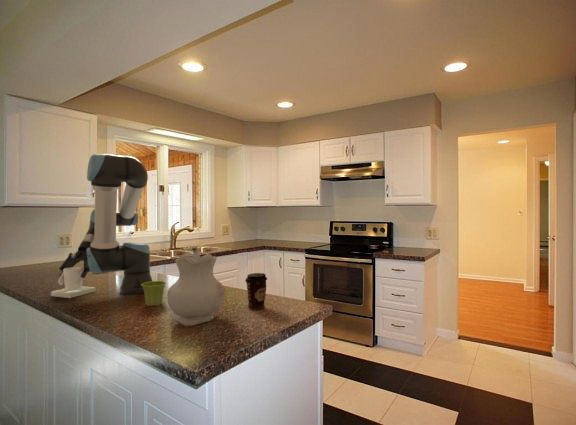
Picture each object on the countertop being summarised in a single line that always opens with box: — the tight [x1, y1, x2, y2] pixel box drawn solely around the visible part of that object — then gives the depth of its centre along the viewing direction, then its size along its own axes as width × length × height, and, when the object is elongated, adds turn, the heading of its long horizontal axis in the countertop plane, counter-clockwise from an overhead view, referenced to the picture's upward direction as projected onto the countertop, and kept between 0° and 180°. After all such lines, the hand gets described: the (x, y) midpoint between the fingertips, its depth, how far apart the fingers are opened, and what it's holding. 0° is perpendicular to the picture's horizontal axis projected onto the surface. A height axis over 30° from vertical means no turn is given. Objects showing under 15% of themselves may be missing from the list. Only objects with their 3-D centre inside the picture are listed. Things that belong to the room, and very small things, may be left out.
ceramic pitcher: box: [166, 246, 226, 327], centre depth 117 cm, size 22×20×25 cm
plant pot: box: [141, 280, 167, 307], centre depth 136 cm, size 9×9×9 cm
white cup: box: [63, 266, 84, 291], centre depth 157 cm, size 8×8×10 cm
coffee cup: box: [244, 272, 268, 311], centre depth 128 cm, size 9×8×13 cm
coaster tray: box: [50, 285, 96, 299], centre depth 157 cm, size 13×13×2 cm
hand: (68, 283), depth 154 cm, fingers closed on white cup, 8 cm apart
